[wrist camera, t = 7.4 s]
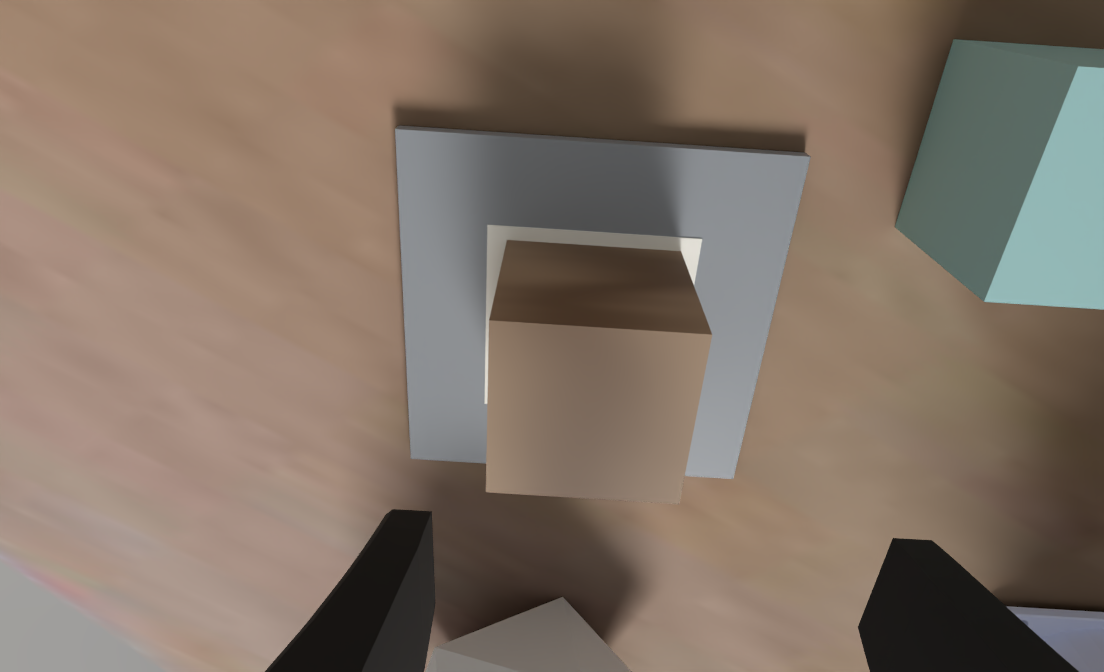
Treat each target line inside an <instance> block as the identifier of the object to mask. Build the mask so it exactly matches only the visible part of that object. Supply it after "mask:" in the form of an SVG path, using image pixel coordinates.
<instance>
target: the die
mask: <svg viewBox="0 0 1104 672" xmlns="http://www.w3.org/2000/svg"><path fill="white" fill-rule="evenodd" d="M426 672H632V671H631V670H630V669H629V668H628V667H627V666H626V665H625V664H624V663H623V662H622V661H621V659H620V658H619V657H618V656H617V655H616V654H615V653H614V652H613V651H612V650H611V649H610V648H609V646H608V645H607V644H606V643H605V642H604V641H603V640H602V639H601V638H600V637H599V636H598V635H597V633H596V632H595V631H594V630H593V629H592V628H591V627H590V626H589V625H588V624H587V623H586V621H585V620H584V619H583V618H582V617H581V616H580V615H579V614H578V613H577V612H576V611H575V610H574V608H573V607H572V606H571V605H570V604H569V603H568V602H567V601H566V600H565V599H564V598H563V597H561V598H558V599H556V600H553V601H551V602H548V603H546V604H543V605H540V606H538V607H535V608H533V609H530V610H528V611H525V612H523V613H520V614H518V615H515V616H513V617H510V618H508V619H505V620H502V621H500V622H497V623H495V624H492V625H490V626H487V627H485V628H482V629H480V630H477V631H475V632H472V633H470V634H467V635H465V636H462V637H459V638H457V639H454V640H452V641H449V642H447V643H444V644H442V645H439V646H437V647H435V648H434V651H433V653H432V656H431V659H430V661H429V664H428V667H427V669H426Z"/></svg>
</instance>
